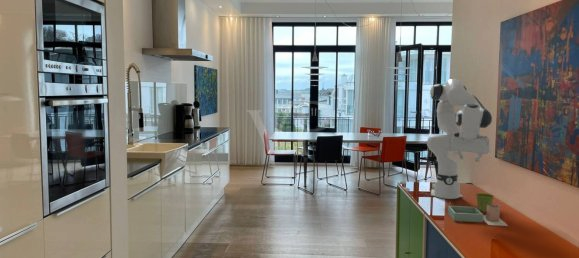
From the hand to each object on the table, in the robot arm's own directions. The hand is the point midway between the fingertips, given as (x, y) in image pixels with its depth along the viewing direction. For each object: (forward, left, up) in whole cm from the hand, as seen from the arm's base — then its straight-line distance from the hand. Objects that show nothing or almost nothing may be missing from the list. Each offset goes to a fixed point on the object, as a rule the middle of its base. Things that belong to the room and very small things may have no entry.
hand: (469, 160), depth 224 cm
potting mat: (+11, +10, -29) cm, 33 cm away
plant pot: (-7, +11, -29) cm, 32 cm away
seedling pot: (+11, +10, -29) cm, 32 cm away
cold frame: (+8, -3, -29) cm, 30 cm away
